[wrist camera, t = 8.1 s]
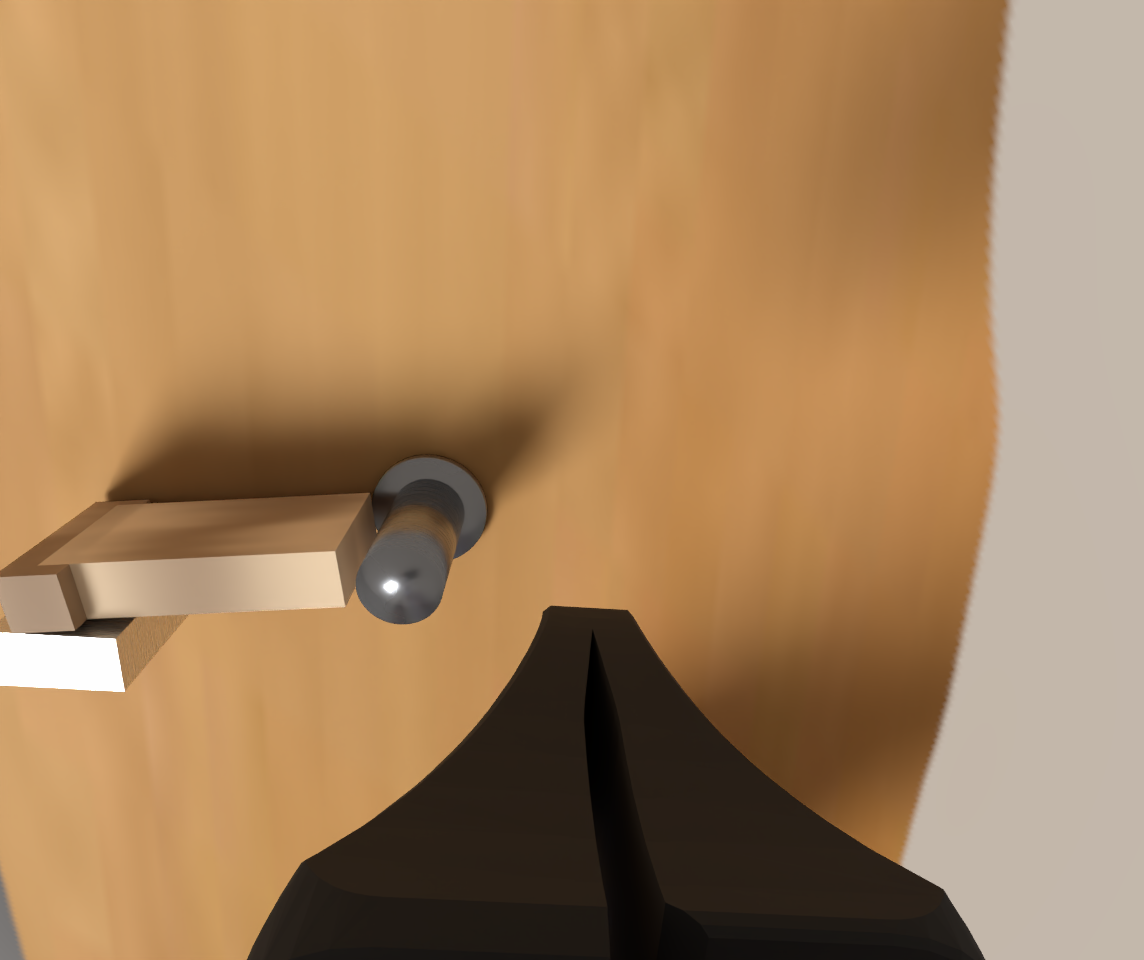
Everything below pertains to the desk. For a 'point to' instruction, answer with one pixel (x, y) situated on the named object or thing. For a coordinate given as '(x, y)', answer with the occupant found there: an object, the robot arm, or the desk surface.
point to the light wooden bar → (190, 560)
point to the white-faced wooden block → (84, 653)
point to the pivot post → (418, 536)
